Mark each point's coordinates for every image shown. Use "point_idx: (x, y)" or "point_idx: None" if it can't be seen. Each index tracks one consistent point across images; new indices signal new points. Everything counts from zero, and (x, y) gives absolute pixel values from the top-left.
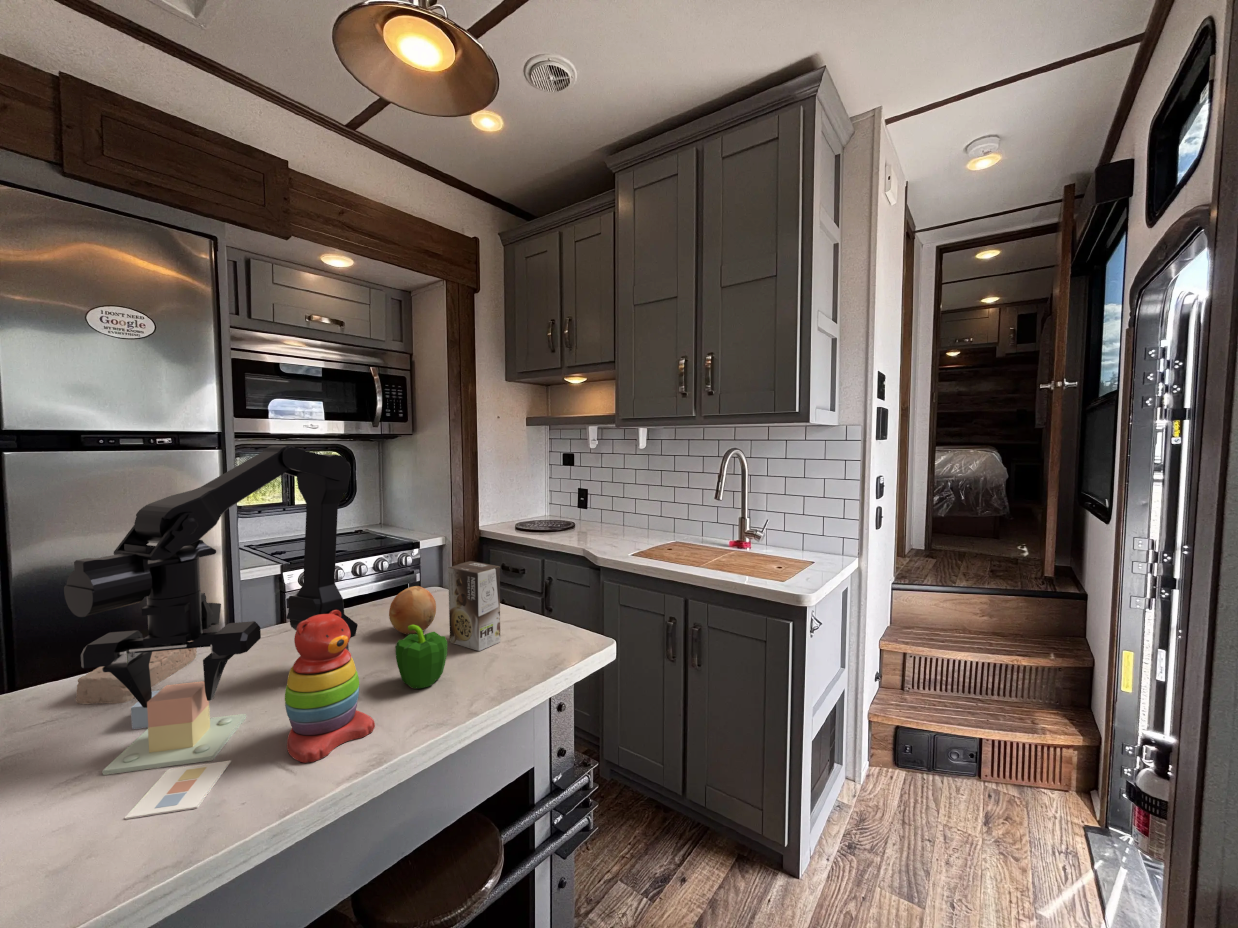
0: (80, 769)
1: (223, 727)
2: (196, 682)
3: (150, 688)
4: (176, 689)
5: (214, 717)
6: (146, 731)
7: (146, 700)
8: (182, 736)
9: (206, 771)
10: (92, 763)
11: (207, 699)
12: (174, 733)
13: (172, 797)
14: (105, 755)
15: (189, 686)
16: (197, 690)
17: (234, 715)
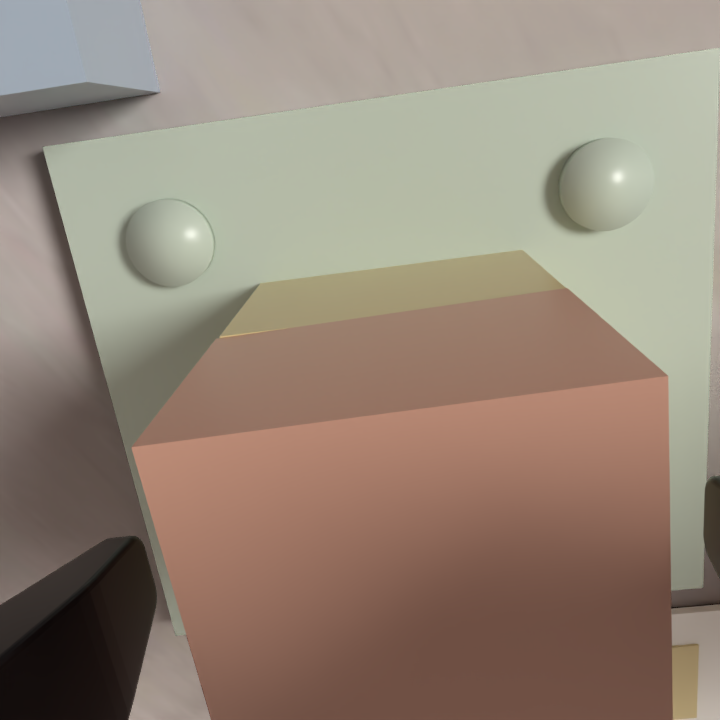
0: (17, 555)
1: (624, 263)
2: (523, 421)
3: (53, 639)
4: (369, 593)
5: (474, 84)
6: (79, 245)
7: (132, 656)
8: None
9: (713, 675)
10: (30, 511)
11: (717, 563)
12: None
13: None
14: (30, 444)
15: (493, 532)
16: (662, 647)
17: (629, 68)
